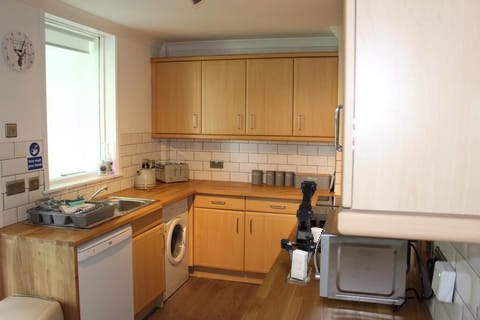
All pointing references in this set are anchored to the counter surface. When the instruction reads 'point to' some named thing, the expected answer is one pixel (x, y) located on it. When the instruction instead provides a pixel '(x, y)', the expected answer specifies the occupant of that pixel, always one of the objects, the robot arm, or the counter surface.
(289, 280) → the wooden divided tray
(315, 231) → the white cup
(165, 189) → the counter surface
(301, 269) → the skincare box
